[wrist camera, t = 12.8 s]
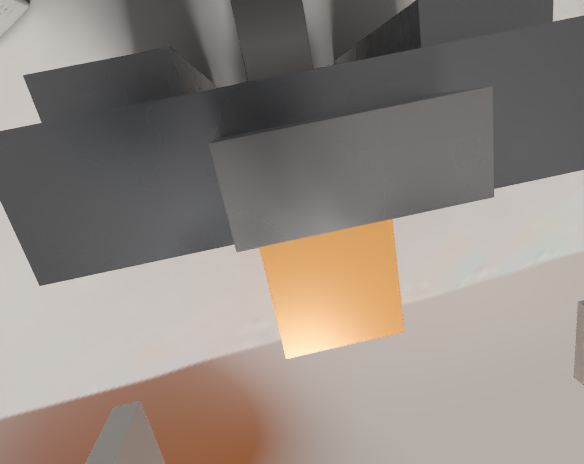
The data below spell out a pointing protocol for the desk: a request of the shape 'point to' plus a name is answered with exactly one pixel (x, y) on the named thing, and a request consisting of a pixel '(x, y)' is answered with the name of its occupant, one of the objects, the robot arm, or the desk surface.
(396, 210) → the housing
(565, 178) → the desk surface
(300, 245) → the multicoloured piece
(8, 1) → the hard drive box
